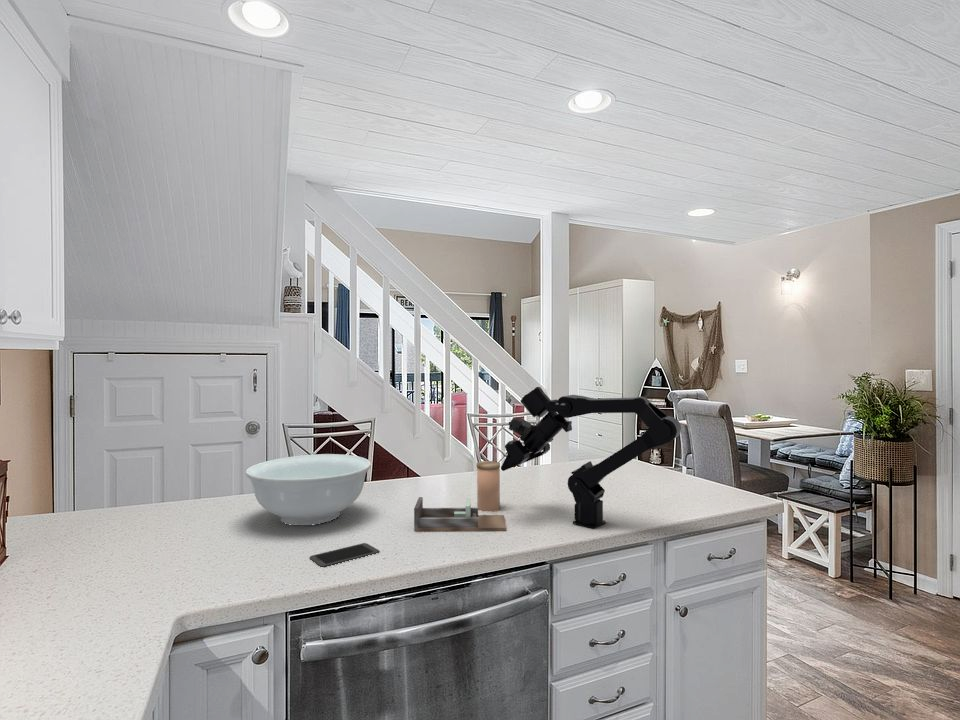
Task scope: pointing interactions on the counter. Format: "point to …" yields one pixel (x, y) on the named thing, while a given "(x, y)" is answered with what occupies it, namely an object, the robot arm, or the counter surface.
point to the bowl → (308, 486)
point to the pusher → (465, 513)
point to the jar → (488, 486)
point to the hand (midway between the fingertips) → (509, 466)
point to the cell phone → (343, 554)
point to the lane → (454, 520)
